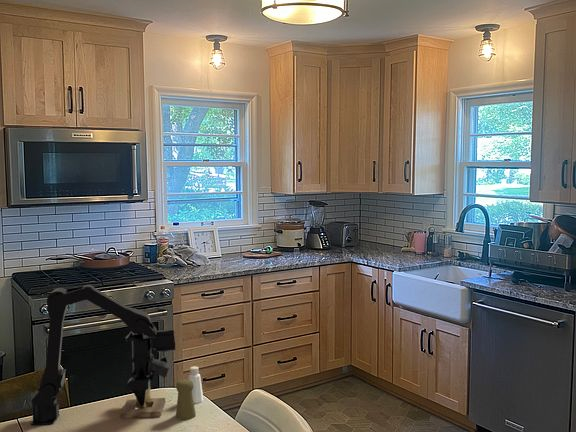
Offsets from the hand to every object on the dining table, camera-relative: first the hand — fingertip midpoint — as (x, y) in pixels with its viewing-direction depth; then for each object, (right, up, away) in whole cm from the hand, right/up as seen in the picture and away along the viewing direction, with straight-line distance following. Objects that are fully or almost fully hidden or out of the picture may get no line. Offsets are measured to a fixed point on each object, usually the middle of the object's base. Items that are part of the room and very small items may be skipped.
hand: (143, 402), depth 180 cm
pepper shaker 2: (+15, -2, +7) cm, 17 cm away
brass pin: (0, -1, 0) cm, 1 cm away
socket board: (0, -3, 0) cm, 3 cm away
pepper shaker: (+14, -3, -5) cm, 15 cm away
